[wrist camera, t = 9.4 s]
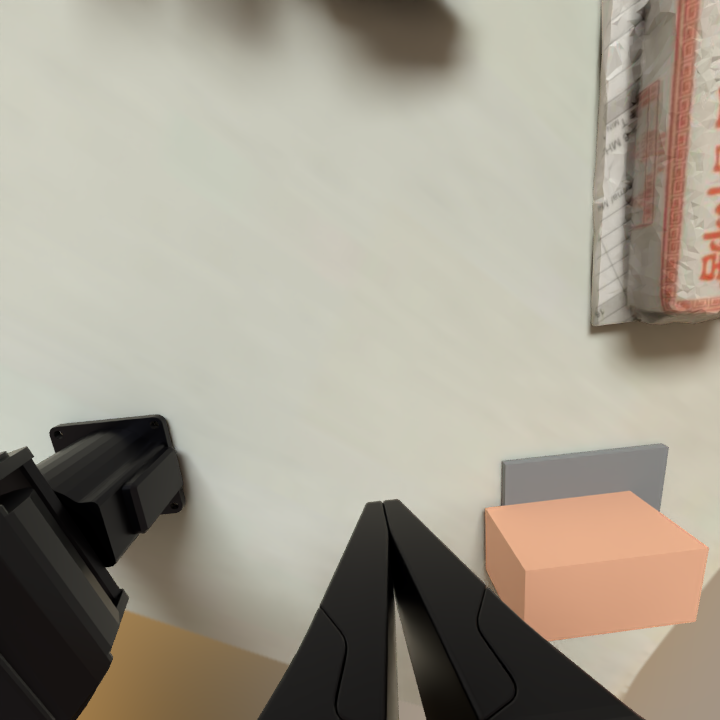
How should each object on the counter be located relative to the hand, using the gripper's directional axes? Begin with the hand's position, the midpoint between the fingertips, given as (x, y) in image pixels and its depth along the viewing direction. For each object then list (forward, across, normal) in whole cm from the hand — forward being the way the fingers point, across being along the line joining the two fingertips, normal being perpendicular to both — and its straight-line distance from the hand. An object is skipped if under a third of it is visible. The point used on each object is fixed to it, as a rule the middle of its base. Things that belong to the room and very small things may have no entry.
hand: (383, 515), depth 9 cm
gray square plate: (+12, -14, +12) cm, 22 cm away
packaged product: (+13, -19, -11) cm, 25 cm away
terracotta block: (+9, -8, +12) cm, 17 cm away
